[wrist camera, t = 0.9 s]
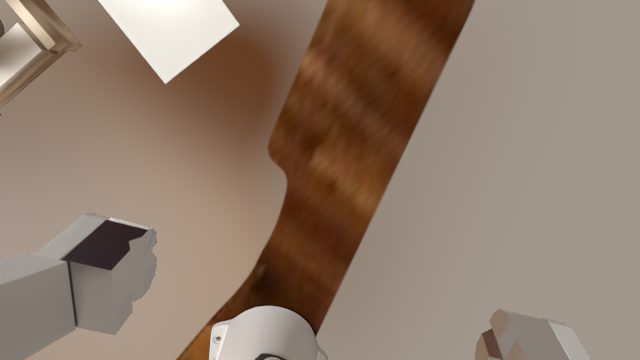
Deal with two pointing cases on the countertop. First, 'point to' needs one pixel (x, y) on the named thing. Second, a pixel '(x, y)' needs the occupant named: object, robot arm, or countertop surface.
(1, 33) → the beverage can
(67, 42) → the birch rack
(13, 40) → the light wood bar
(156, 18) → the ceramic tile
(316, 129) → the countertop surface
